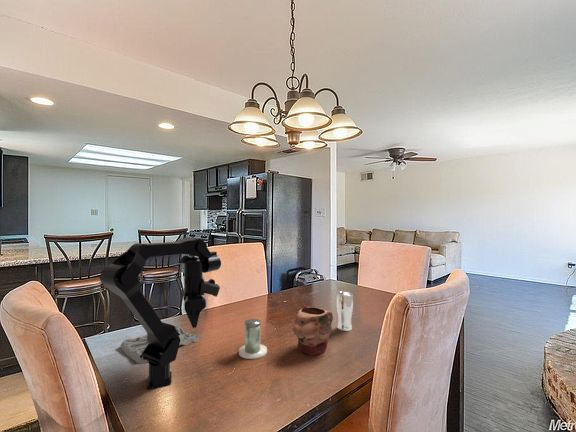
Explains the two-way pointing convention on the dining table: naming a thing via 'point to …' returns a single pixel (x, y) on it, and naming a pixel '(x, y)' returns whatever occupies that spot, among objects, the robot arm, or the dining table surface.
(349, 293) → the beer glass
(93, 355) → the dining table surface
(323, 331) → the decorative planter
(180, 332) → the wall plaque
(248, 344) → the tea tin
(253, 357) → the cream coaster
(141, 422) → the dining table surface
